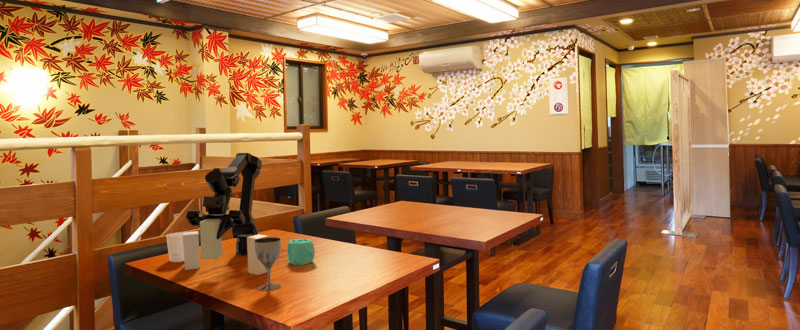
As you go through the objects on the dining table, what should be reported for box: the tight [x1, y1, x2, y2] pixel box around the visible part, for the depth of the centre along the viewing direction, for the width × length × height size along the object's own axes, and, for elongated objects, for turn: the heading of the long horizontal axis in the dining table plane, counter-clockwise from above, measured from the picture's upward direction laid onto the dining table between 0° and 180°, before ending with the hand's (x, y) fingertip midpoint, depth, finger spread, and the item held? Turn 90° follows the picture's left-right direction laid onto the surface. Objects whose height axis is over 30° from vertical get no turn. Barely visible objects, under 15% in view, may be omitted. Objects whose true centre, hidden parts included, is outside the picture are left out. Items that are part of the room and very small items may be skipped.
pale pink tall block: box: [182, 230, 201, 271], centre depth 180 cm, size 5×5×12 cm
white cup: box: [166, 231, 184, 263], centre depth 190 cm, size 8×8×10 cm
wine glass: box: [254, 236, 282, 292], centre depth 155 cm, size 8×8×15 cm
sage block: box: [199, 219, 223, 260], centre depth 167 cm, size 5×5×12 cm
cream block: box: [247, 233, 269, 276], centre depth 172 cm, size 5×5×12 cm
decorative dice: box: [286, 238, 315, 266], centre depth 184 cm, size 8×8×8 cm
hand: (209, 238), depth 166 cm, fingers closed on sage block, 5 cm apart
